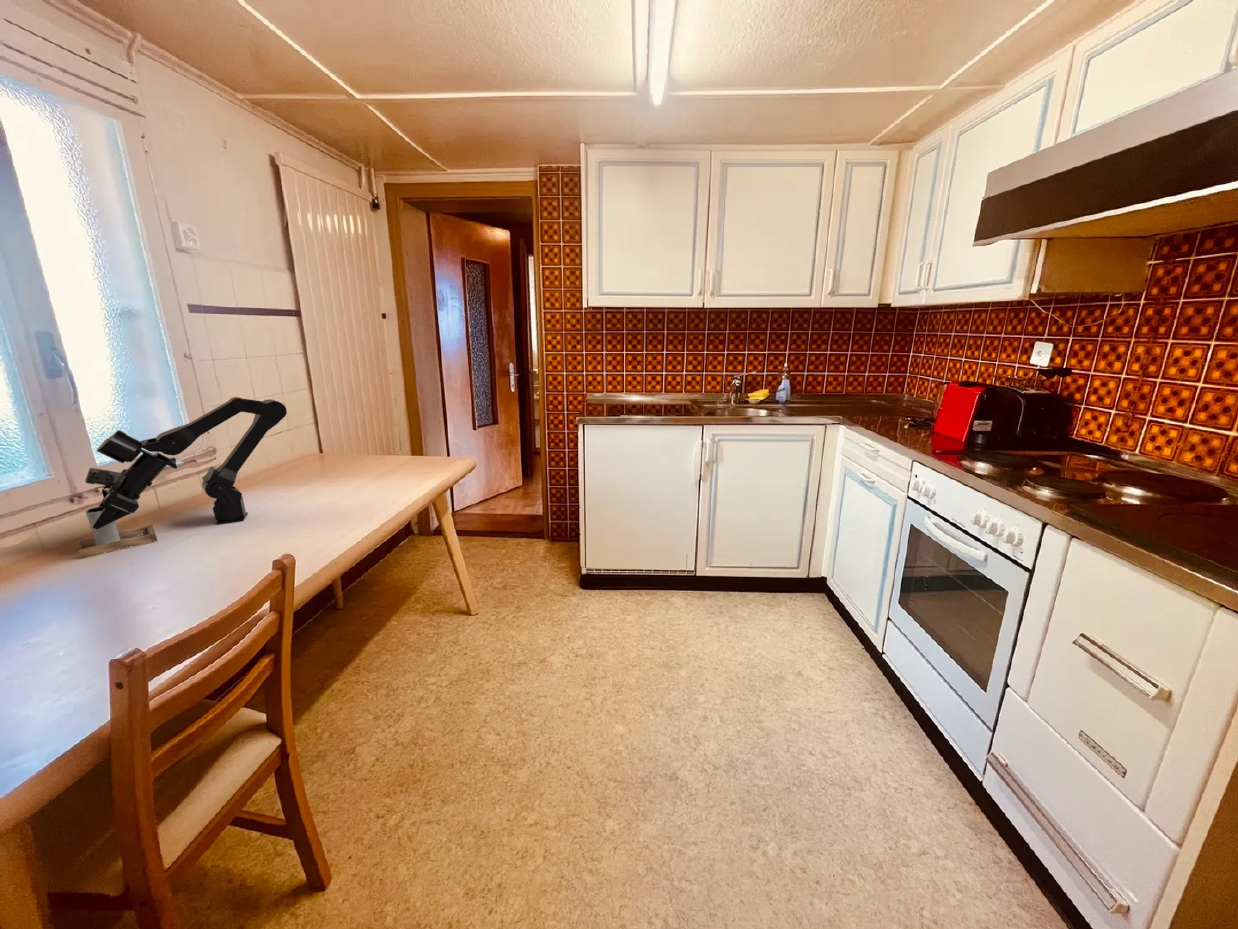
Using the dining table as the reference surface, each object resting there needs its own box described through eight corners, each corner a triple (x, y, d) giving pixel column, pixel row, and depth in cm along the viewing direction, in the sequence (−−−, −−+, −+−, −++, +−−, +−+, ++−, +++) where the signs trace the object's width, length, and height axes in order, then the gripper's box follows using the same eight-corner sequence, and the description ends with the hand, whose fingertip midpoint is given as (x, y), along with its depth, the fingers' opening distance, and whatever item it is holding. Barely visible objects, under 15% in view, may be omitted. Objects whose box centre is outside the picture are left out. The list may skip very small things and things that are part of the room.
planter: (106, 550, 127) (94, 512, 124) (92, 549, 128) (80, 511, 125) (126, 543, 131) (115, 506, 129) (112, 542, 132) (101, 505, 130)
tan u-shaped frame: (154, 531, 139) (152, 524, 139) (157, 541, 133) (155, 534, 132) (81, 547, 130) (79, 539, 129) (81, 558, 123) (79, 551, 122)
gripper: (105, 450, 133) (56, 499, 128) (107, 462, 120) (52, 517, 115) (152, 472, 140) (108, 520, 135) (158, 486, 128) (110, 539, 123)
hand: (94, 523), depth 127 cm, fingers open, 9 cm apart
